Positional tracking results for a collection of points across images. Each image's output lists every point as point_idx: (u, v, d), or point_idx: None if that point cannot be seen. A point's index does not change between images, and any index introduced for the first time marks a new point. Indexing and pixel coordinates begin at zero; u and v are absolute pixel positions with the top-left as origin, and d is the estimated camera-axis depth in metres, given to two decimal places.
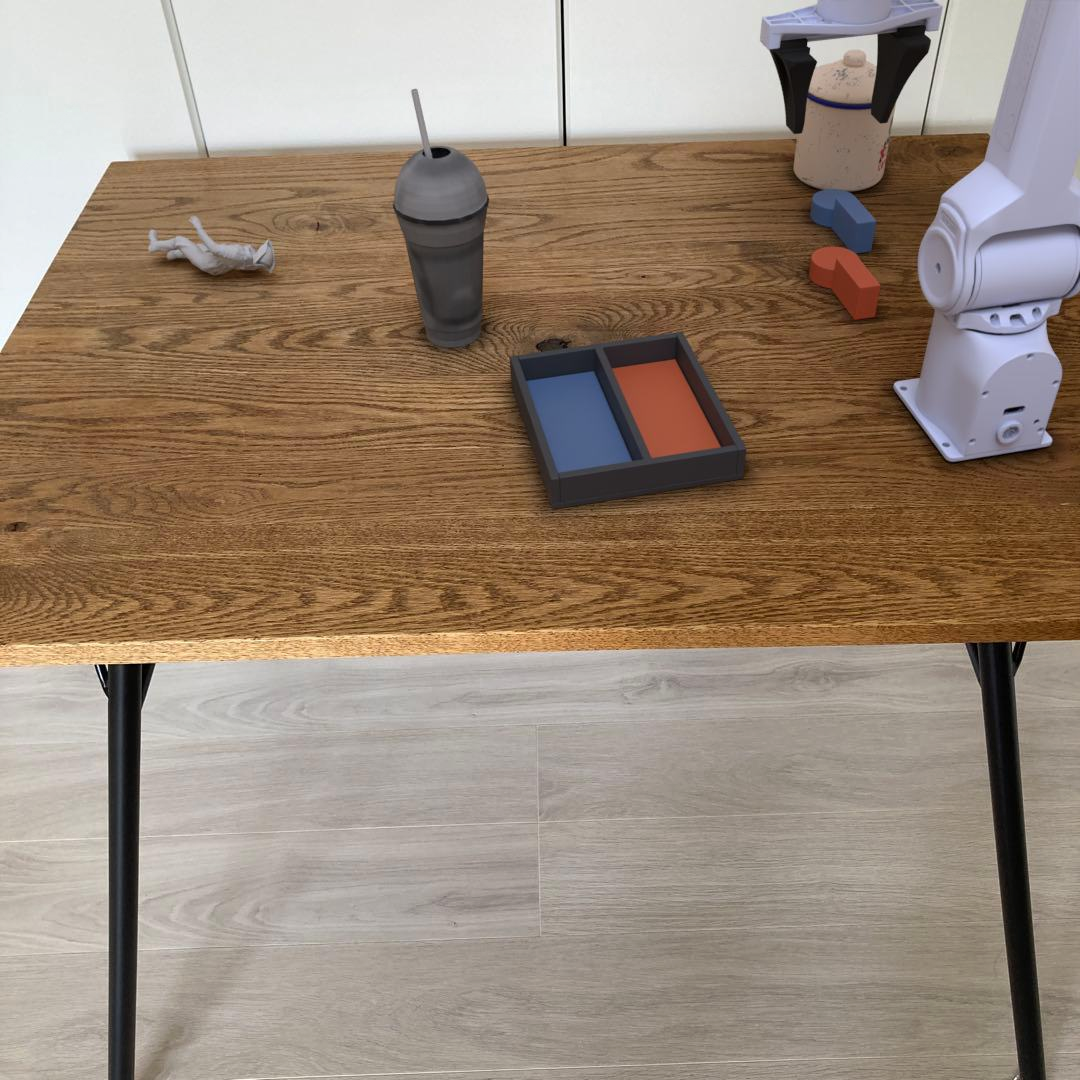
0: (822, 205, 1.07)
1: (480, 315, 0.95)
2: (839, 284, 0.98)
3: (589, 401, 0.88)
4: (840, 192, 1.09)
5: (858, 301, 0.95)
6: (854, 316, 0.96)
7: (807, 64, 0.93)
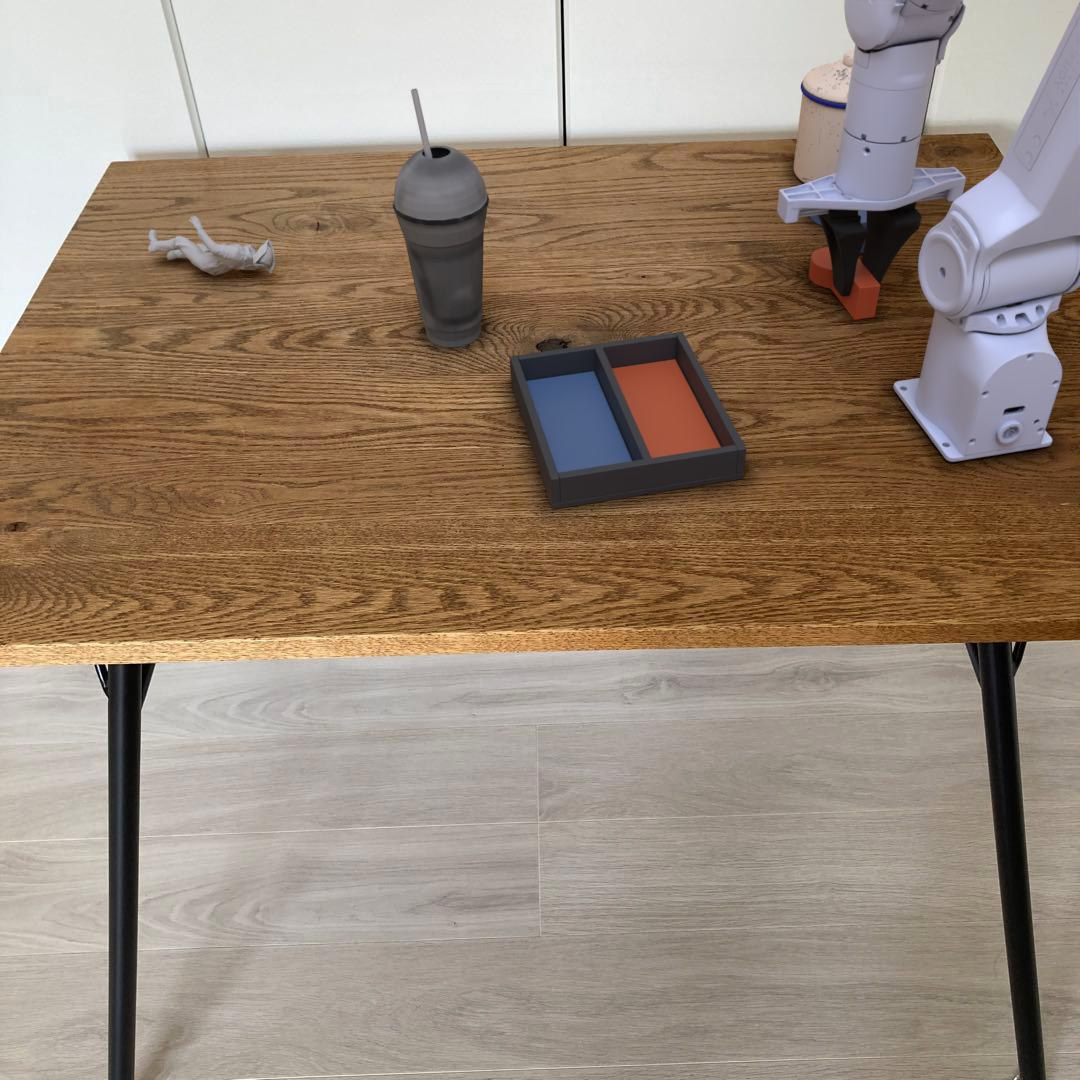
0: None
1: (480, 315, 0.95)
2: None
3: (589, 401, 0.88)
4: None
5: (858, 301, 0.95)
6: (854, 316, 0.96)
7: (858, 235, 0.91)
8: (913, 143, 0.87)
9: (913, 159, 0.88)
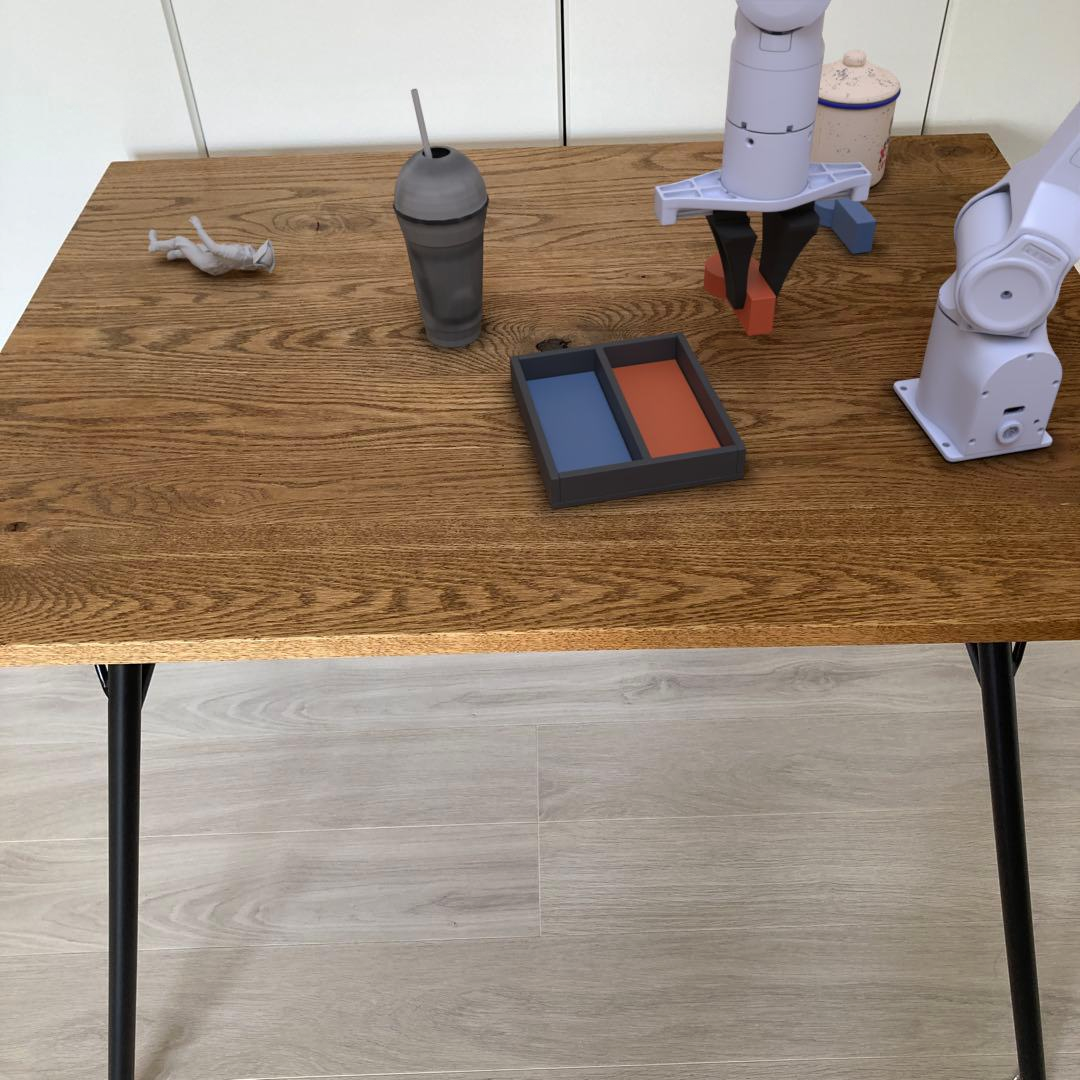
0: (822, 205, 1.07)
1: (480, 315, 0.95)
2: None
3: (589, 401, 0.88)
4: None
5: (751, 314, 0.83)
6: (747, 331, 0.84)
7: (746, 239, 0.79)
8: (804, 133, 0.74)
9: (805, 152, 0.75)
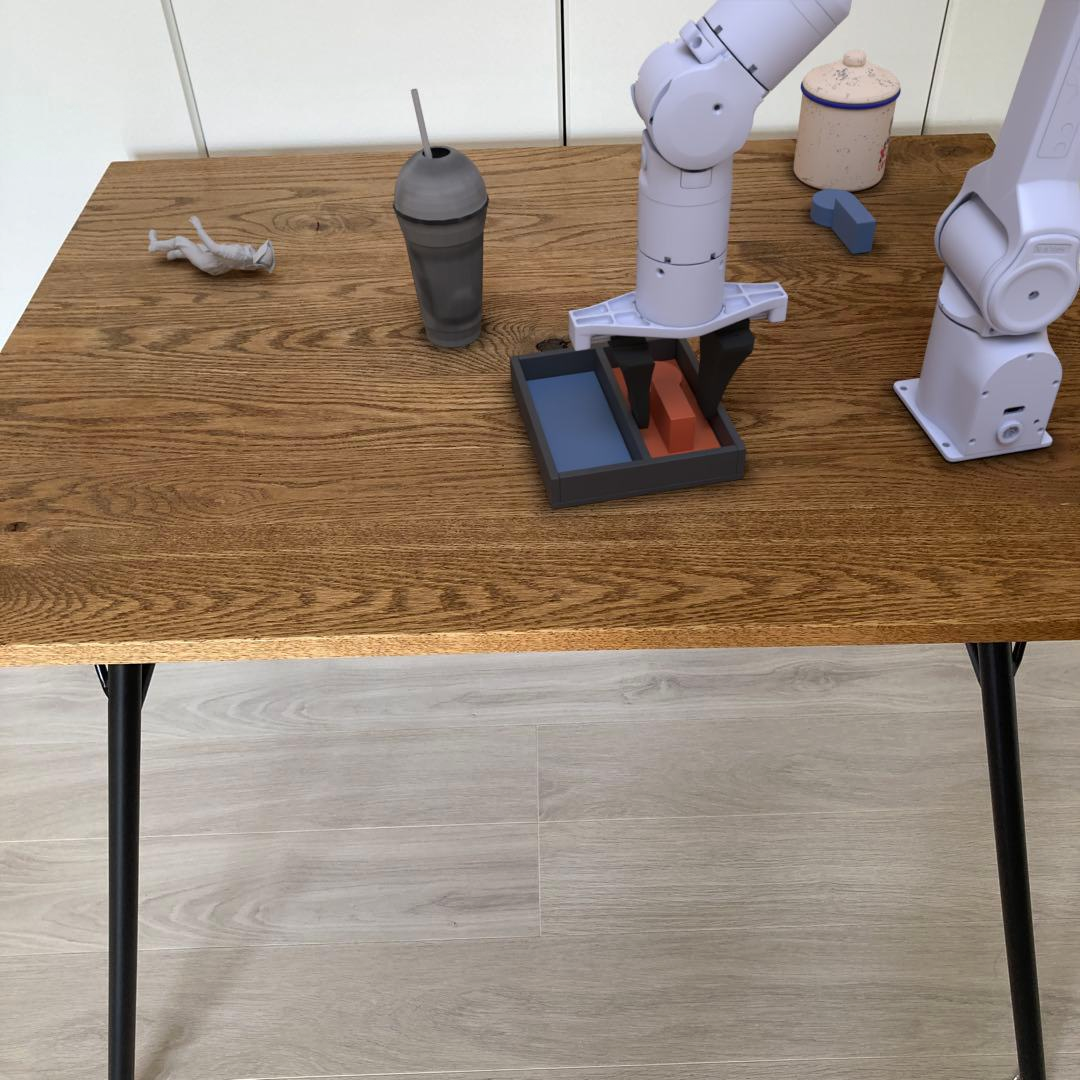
0: (822, 205, 1.07)
1: (480, 315, 0.95)
2: (655, 409, 0.85)
3: (589, 401, 0.88)
4: (840, 192, 1.09)
5: (670, 433, 0.82)
6: (668, 449, 0.83)
7: (643, 367, 0.77)
8: (714, 263, 0.73)
9: (717, 280, 0.74)
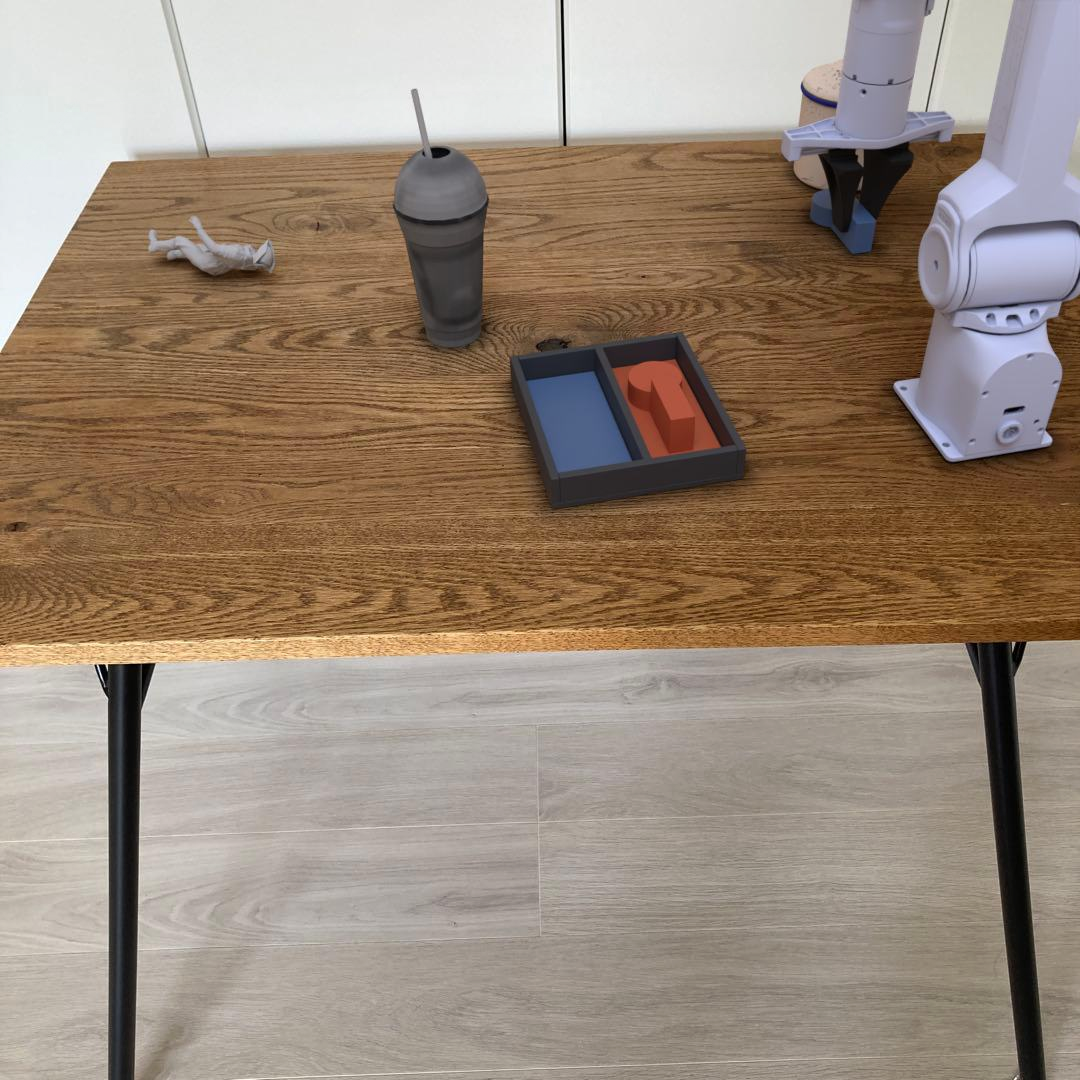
0: (822, 205, 1.07)
1: (480, 315, 0.95)
2: (655, 409, 0.85)
3: (589, 401, 0.88)
4: None
5: (670, 433, 0.82)
6: (668, 449, 0.83)
7: (856, 172, 0.98)
8: (906, 85, 0.94)
9: (906, 100, 0.95)
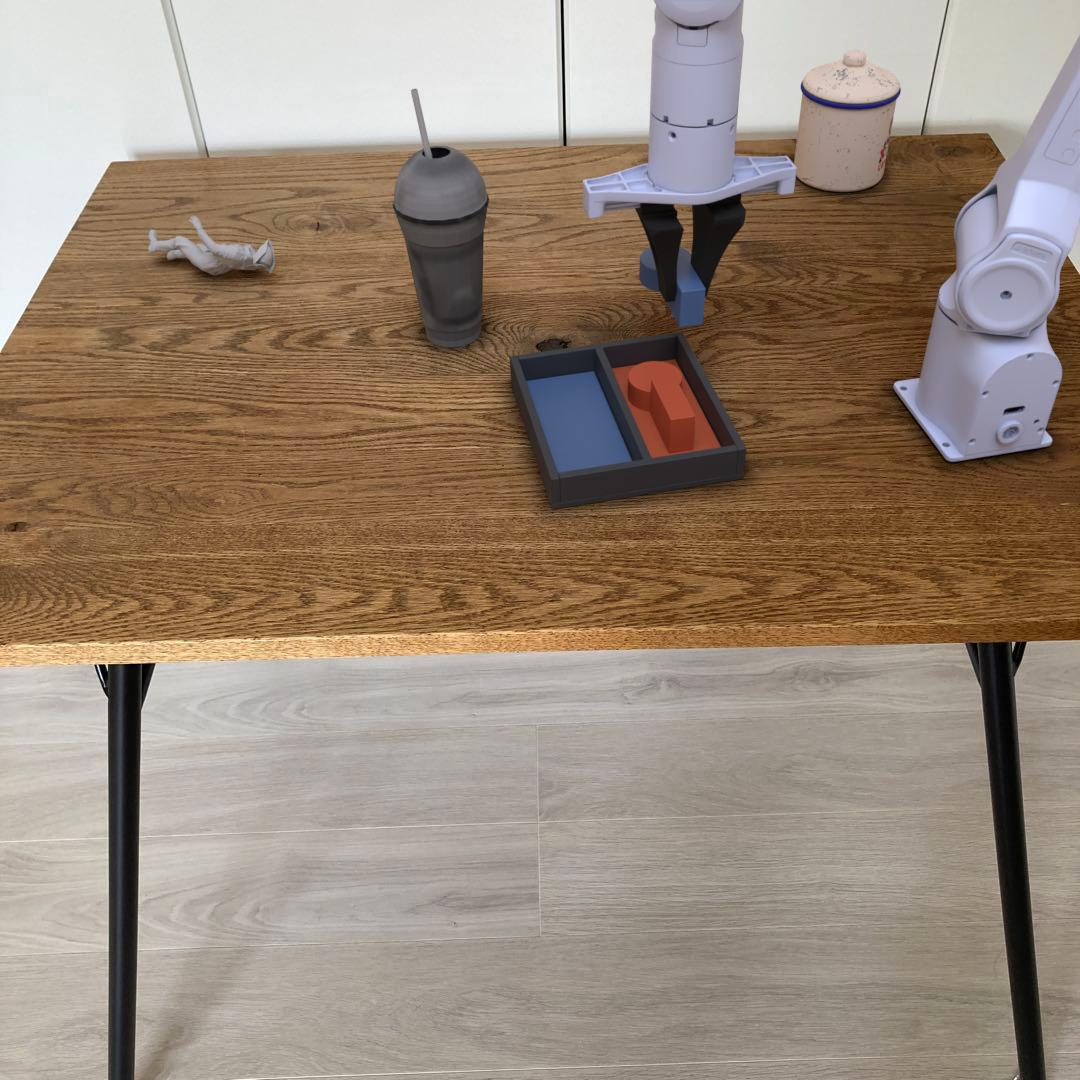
0: (649, 266, 0.88)
1: (480, 315, 0.95)
2: (655, 409, 0.85)
3: (589, 401, 0.88)
4: None
5: (670, 433, 0.82)
6: (668, 449, 0.83)
7: (672, 232, 0.80)
8: (725, 127, 0.75)
9: (727, 145, 0.77)
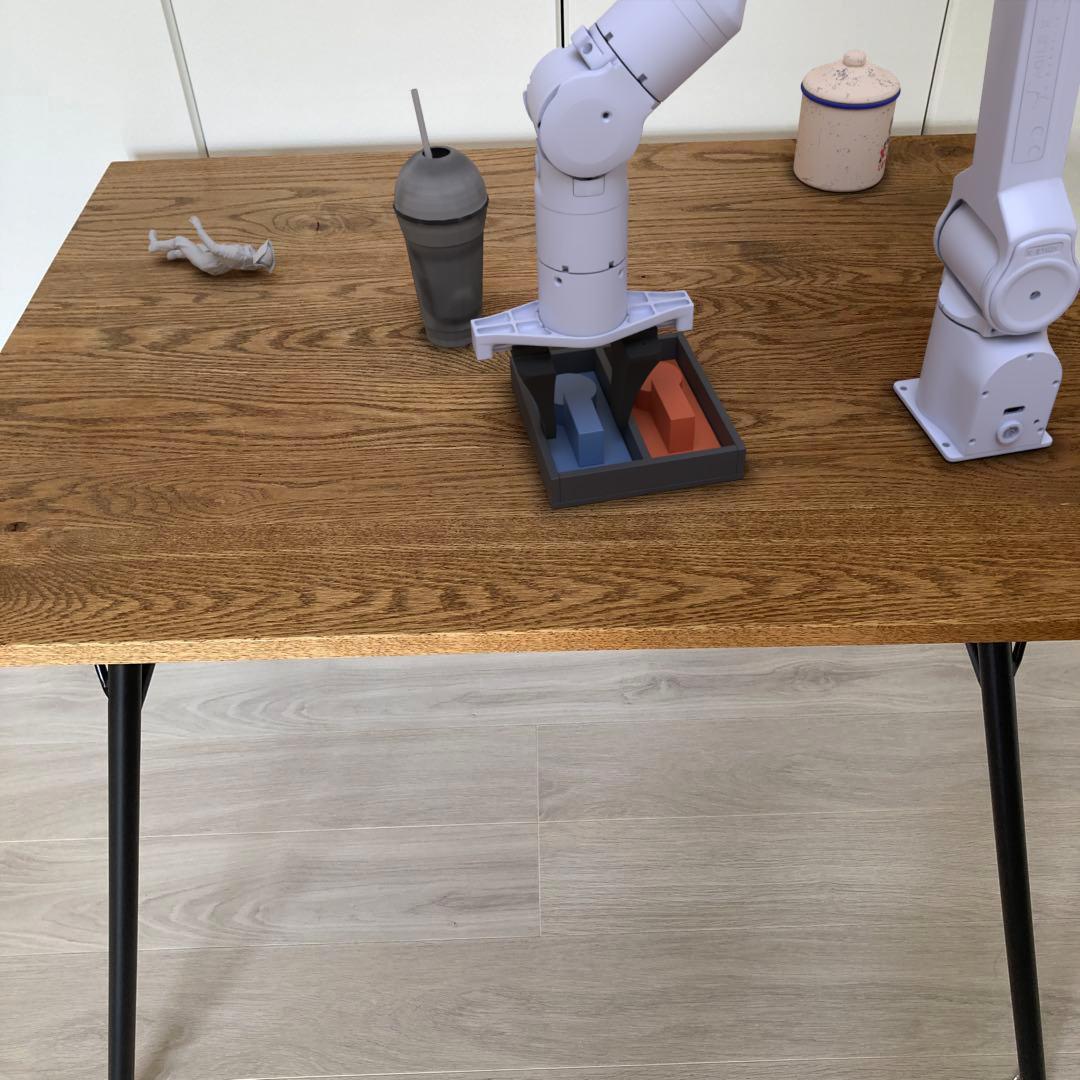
0: None
1: (480, 315, 0.95)
2: (655, 409, 0.85)
3: None
4: (579, 379, 0.87)
5: (670, 433, 0.82)
6: (668, 449, 0.83)
7: (544, 376, 0.76)
8: (613, 272, 0.72)
9: (617, 289, 0.73)
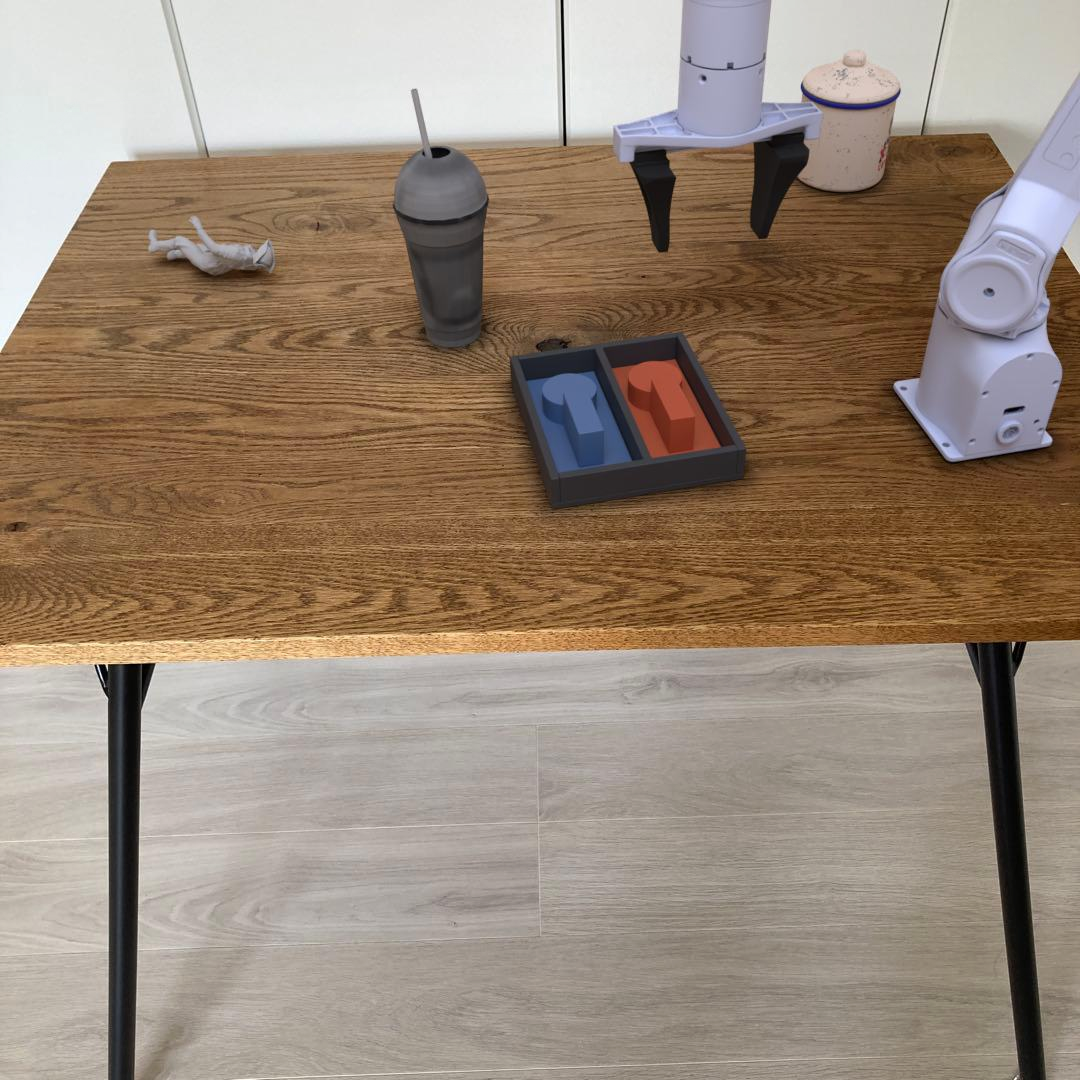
0: (550, 399, 0.85)
1: (480, 315, 0.95)
2: (655, 409, 0.85)
3: None
4: (579, 379, 0.87)
5: (670, 433, 0.82)
6: (668, 449, 0.83)
7: (665, 180, 0.81)
8: (754, 70, 0.77)
9: (756, 88, 0.78)
